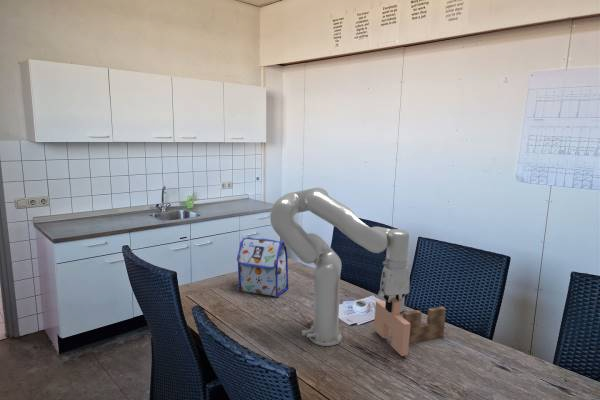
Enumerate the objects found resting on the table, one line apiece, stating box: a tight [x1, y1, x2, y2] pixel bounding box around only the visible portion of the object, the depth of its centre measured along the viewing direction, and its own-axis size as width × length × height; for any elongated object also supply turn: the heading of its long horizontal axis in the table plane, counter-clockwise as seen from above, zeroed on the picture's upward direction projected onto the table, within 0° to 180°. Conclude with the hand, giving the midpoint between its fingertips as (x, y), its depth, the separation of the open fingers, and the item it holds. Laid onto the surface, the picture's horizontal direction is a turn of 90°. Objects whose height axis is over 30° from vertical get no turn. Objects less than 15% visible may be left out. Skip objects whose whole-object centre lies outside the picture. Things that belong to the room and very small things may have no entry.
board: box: [402, 306, 447, 344], centre depth 156 cm, size 18×2×12 cm, turn 109°
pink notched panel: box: [373, 296, 411, 357], centre depth 151 cm, size 20×2×17 cm, turn 19°
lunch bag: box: [236, 236, 290, 298], centre depth 200 cm, size 23×17×27 cm
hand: (392, 310), depth 150 cm, fingers closed on pink notched panel, 2 cm apart
